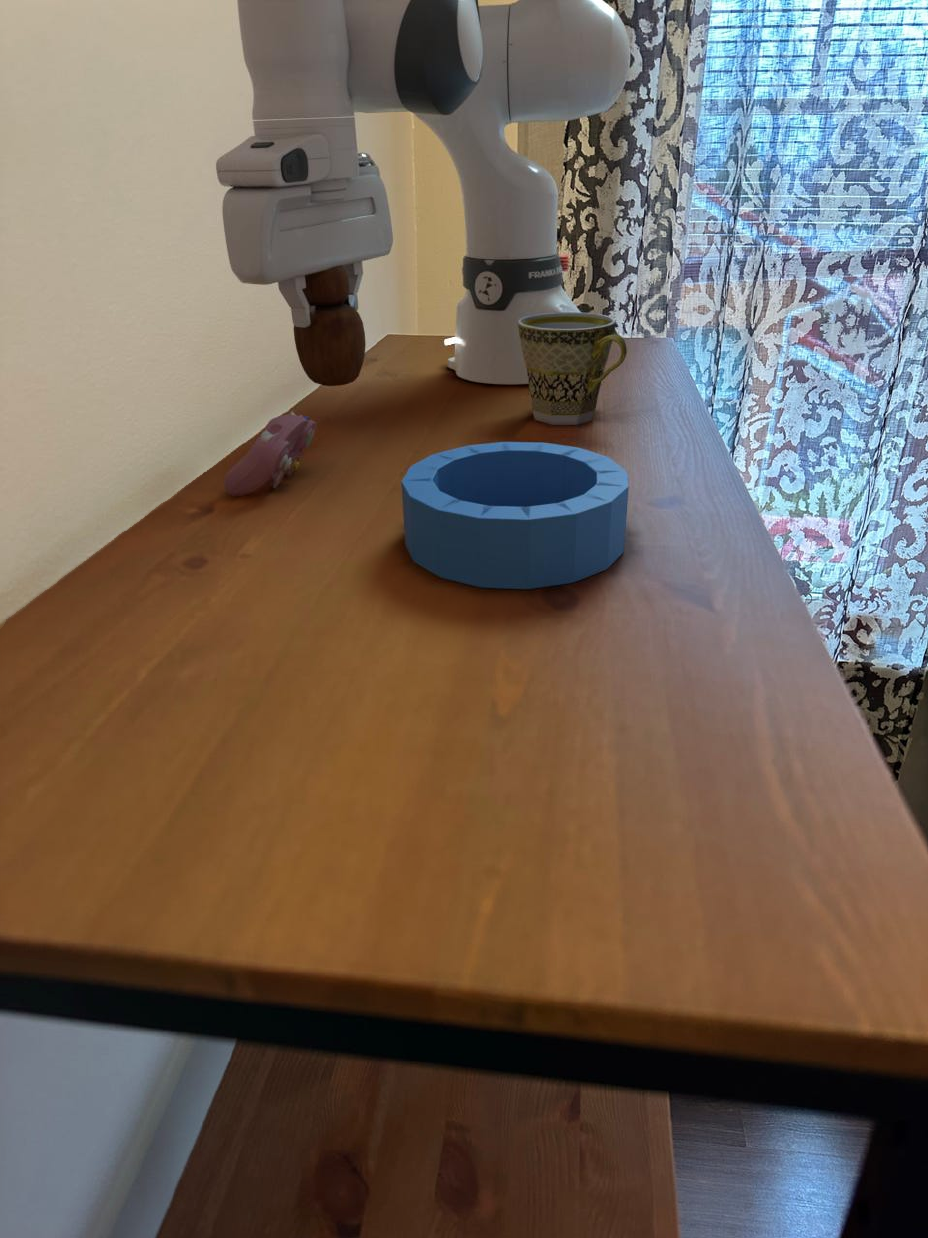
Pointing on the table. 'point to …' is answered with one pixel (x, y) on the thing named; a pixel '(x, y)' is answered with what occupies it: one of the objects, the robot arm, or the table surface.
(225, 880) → the table surface
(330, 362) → the wooden figurine
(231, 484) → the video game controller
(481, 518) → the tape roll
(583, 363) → the ceramic cup
